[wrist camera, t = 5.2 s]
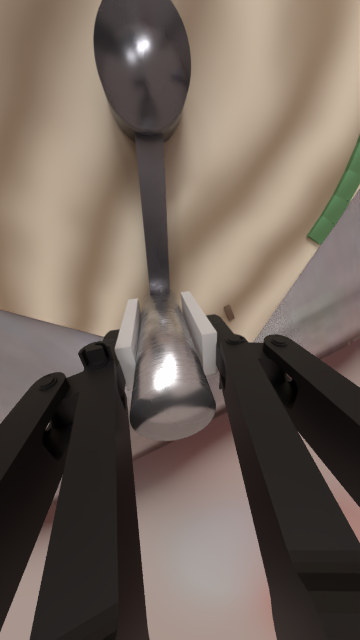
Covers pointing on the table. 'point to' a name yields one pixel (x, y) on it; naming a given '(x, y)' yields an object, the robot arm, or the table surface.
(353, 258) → the table surface
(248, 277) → the dial board
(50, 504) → the robot arm
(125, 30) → the grey long handled part
